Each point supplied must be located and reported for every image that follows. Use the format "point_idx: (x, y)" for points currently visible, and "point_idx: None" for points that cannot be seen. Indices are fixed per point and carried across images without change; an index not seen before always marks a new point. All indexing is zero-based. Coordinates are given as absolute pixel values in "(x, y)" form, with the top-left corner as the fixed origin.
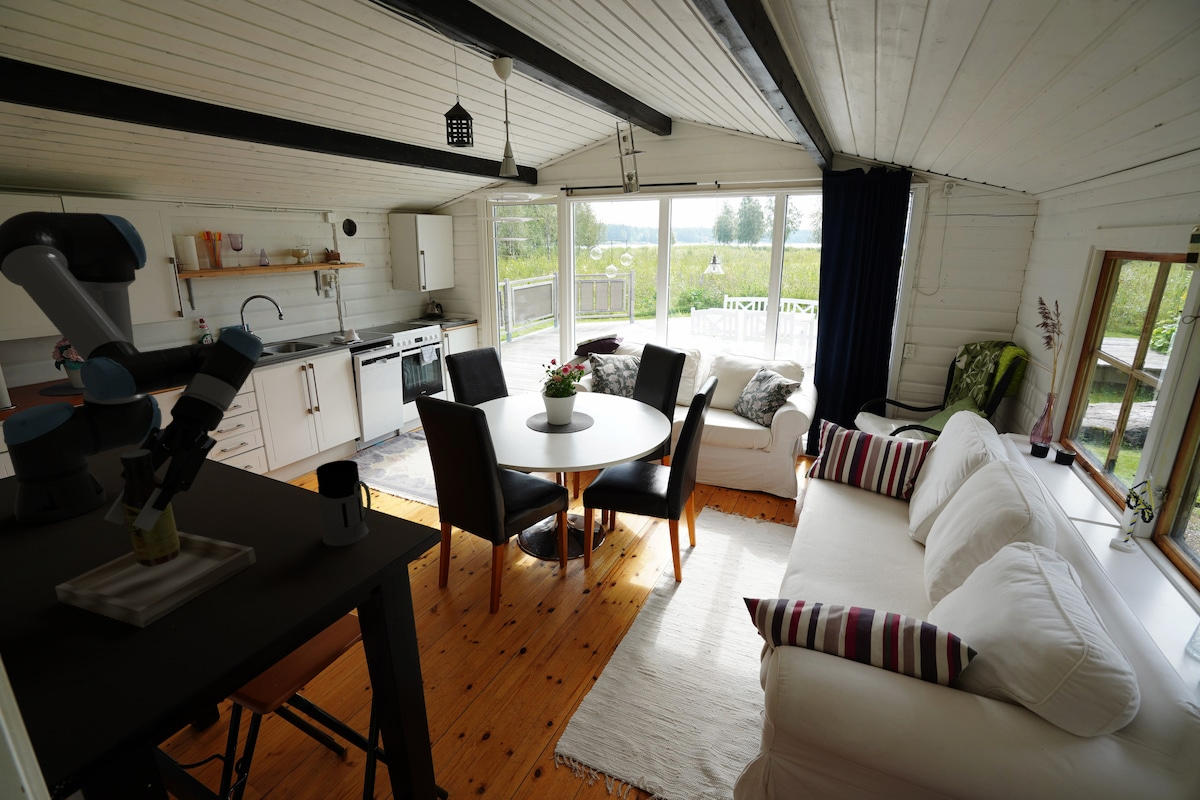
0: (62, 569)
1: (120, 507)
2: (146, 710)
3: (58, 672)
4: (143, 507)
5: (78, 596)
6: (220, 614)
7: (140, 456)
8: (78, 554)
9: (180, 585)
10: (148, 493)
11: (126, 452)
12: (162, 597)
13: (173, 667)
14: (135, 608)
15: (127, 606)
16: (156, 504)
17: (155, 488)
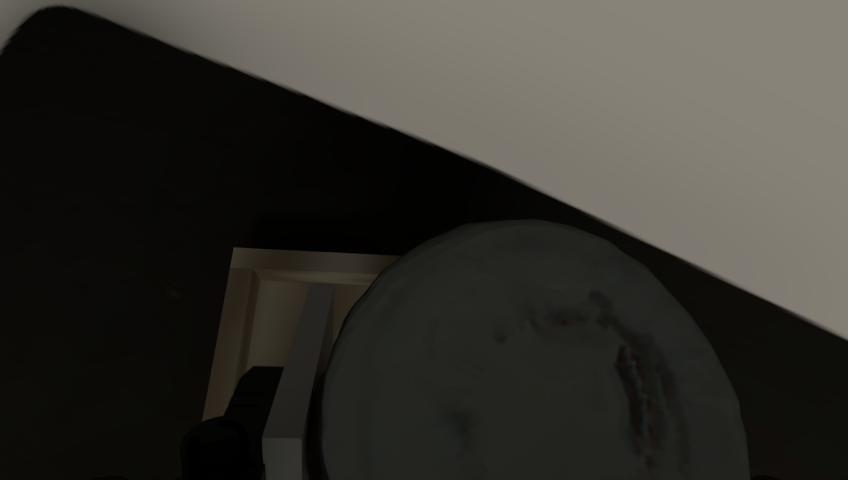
0: (747, 390)
1: None
2: (4, 99)
3: (286, 129)
4: (320, 336)
5: None
6: (73, 368)
7: (332, 348)
8: (818, 468)
9: (227, 376)
10: (319, 380)
11: (717, 381)
12: (226, 311)
13: (43, 188)
14: (255, 252)
15: (286, 253)
16: (258, 381)
17: (302, 433)
